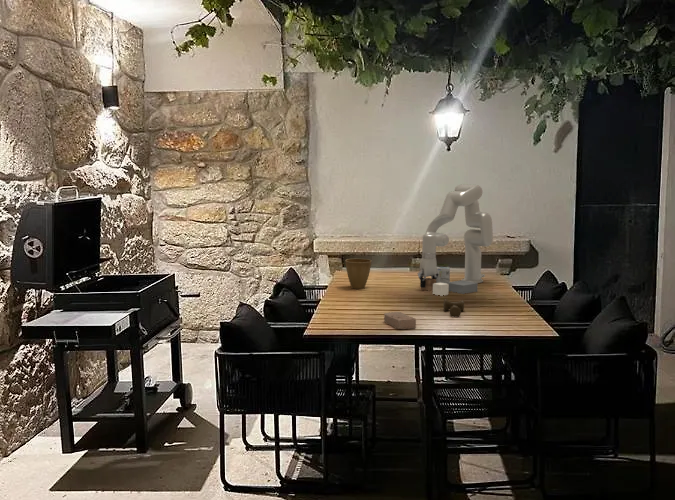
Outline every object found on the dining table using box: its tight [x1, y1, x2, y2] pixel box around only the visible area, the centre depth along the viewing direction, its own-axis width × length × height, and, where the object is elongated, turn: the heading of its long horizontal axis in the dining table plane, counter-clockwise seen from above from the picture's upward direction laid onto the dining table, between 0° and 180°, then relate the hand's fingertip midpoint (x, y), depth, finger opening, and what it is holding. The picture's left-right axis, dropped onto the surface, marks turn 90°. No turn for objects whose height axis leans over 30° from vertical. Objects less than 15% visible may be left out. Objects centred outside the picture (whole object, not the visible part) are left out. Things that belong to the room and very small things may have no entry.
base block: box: [447, 279, 479, 295], centre depth 359 cm, size 12×12×5 cm
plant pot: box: [345, 258, 373, 290], centre depth 367 cm, size 15×15×16 cm
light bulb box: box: [430, 266, 451, 284], centre depth 375 cm, size 11×7×11 cm, turn 84°
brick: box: [383, 311, 417, 330], centre depth 281 cm, size 17×8×5 cm, turn 20°
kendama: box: [443, 298, 465, 317], centre depth 305 cm, size 6×10×20 cm
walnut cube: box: [420, 277, 436, 292], centre depth 363 cm, size 6×6×6 cm
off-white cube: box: [432, 283, 450, 297], centre depth 349 cm, size 6×6×6 cm
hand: (428, 286), depth 363 cm, fingers open, 8 cm apart
